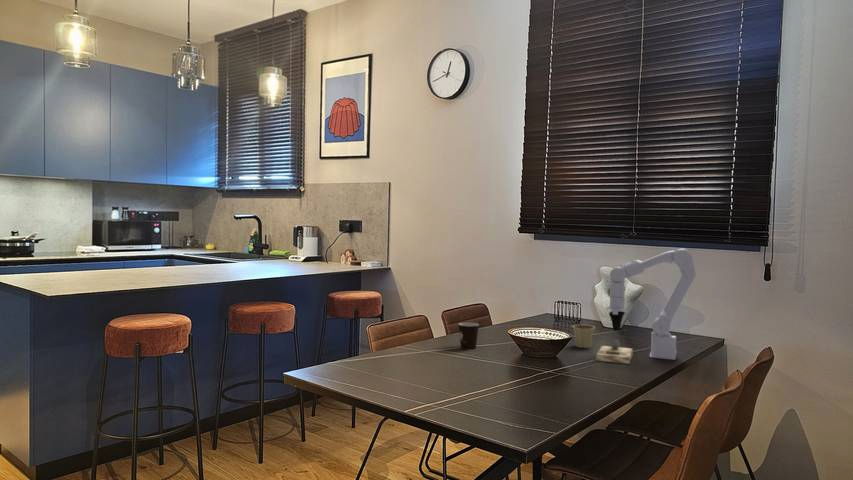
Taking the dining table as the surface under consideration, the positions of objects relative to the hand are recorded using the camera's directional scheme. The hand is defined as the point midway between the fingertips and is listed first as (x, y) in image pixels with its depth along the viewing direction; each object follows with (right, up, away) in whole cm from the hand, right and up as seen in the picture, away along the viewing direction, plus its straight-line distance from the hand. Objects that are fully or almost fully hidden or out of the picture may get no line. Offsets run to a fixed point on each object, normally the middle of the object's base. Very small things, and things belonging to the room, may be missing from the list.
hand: (616, 329), depth 241 cm
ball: (-2, -5, -4) cm, 7 cm away
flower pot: (-11, -9, +11) cm, 18 cm away
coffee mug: (-60, -9, +7) cm, 61 cm away
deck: (-3, -10, -9) cm, 13 cm away
